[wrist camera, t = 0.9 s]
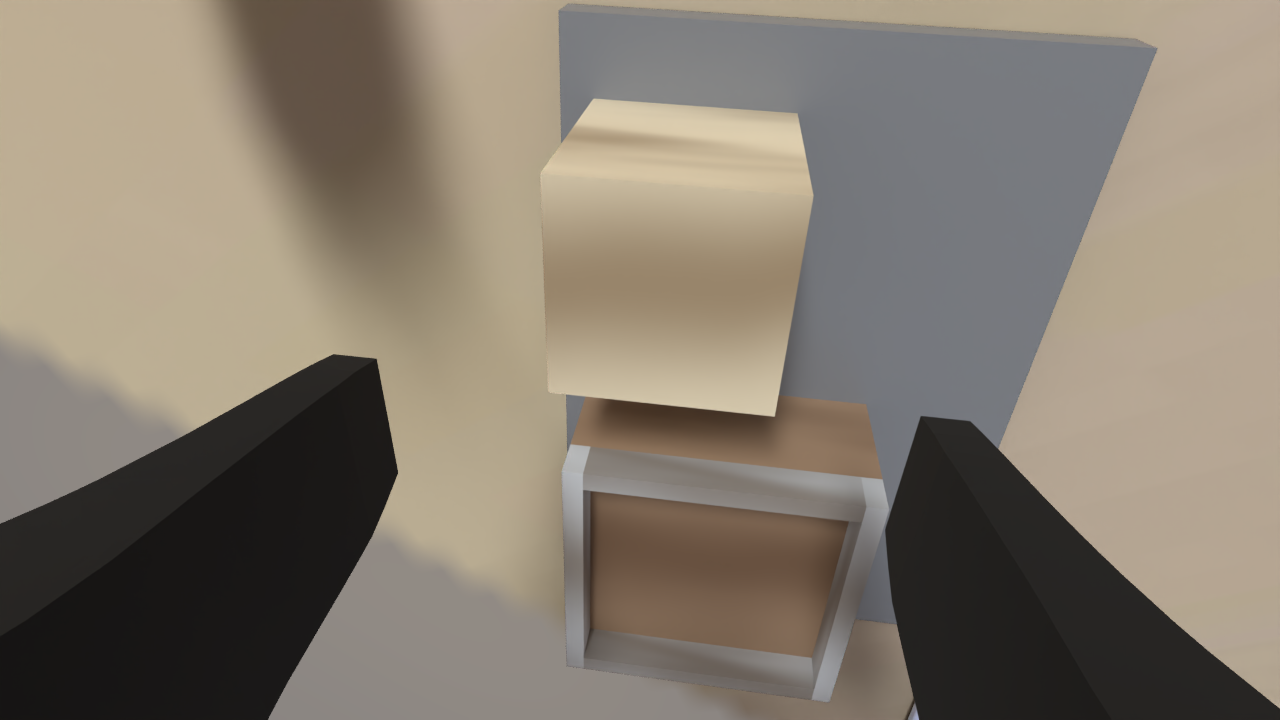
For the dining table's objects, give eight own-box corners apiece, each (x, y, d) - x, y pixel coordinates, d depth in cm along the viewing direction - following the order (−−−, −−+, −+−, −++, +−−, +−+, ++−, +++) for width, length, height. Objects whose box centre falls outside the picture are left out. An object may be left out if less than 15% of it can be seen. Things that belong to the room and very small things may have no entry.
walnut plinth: (818, 588, 24) (829, 702, 21) (591, 560, 25) (566, 666, 21) (866, 404, 20) (888, 509, 17) (592, 375, 21) (561, 471, 17)
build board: (920, 603, 25) (926, 628, 24) (575, 559, 26) (570, 582, 25) (1135, 39, 15) (1157, 48, 15) (568, 3, 16) (558, 10, 16)
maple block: (769, 295, 19) (774, 416, 14) (592, 279, 19) (547, 392, 15) (797, 113, 16) (813, 195, 12) (593, 98, 16) (540, 173, 12)
